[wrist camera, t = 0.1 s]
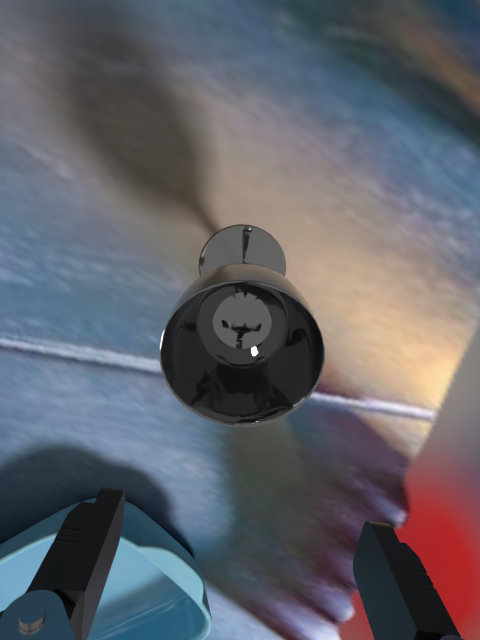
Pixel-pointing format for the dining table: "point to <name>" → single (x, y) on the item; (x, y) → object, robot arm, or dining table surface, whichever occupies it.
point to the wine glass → (242, 335)
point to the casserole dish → (123, 580)
